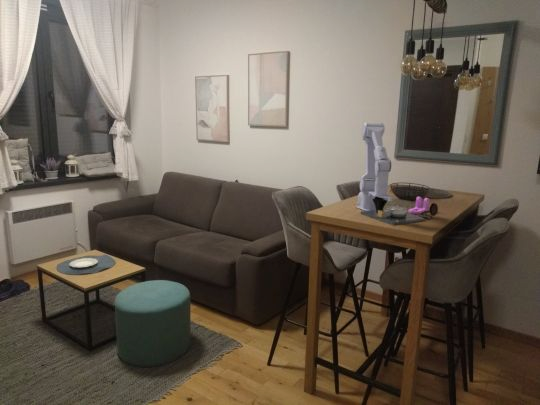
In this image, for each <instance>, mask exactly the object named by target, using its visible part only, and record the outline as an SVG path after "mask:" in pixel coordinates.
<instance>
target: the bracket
mask: <svg viewBox="0 0 540 405" xmlns="http://www.w3.org/2000/svg"><path fill="white" fill-rule="evenodd" d="M415 198H416V199H415V205H414V207H412V208H409V209H407V213H409V212H410V213H409V214H411V213H413V214H412V215H420V214H423V213H425V212H424V211H426V212H429V210H430V198H428V197H424V199H422V197H421V196H416V197H415ZM422 200H423V203H422ZM416 210H417V211H416ZM422 212H423V213H422Z"/></svg>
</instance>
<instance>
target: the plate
mask: <svg viewBox="0 0 540 405" xmlns="http://www.w3.org/2000/svg"><path fill="white" fill-rule="evenodd" d="M383 210H387V208H383ZM360 215H363V216H365V217H368V218H371V219H374V220H376V221H379V222H382V223H386V224H388V225H391V226H395V225H396V226H397V225H403V224H404V225H405V224H410V223H417V222H424V221H425V220H426V219H425V218H422V217H419V215H417V214H411V213H409V212H407V216H406V217H392V216H386V217H379V216H378V214H377V213H376V210H370V211H365V210H362V211H361V210H360Z"/></svg>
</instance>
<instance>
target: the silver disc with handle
mask: <svg viewBox="0 0 540 405" xmlns="http://www.w3.org/2000/svg"><path fill="white" fill-rule="evenodd" d="M386 209H387V210H378V216H379V217H386V216H392V217H406V216H407V213H408V209H407V207H401V206H399V205H398V204H396V205H395V206H388V207H387V208H386Z"/></svg>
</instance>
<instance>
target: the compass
mask: <svg viewBox="0 0 540 405" xmlns="http://www.w3.org/2000/svg"><path fill="white" fill-rule="evenodd" d="M438 211H439V205H438V204H437V203H436V202H432V203H431V204H430V205H429V210H428V212H429V213H420V214H418V216H419V217H422V218H425V220H431V219H433V217H434V216H436V215H437V214H438Z"/></svg>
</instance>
